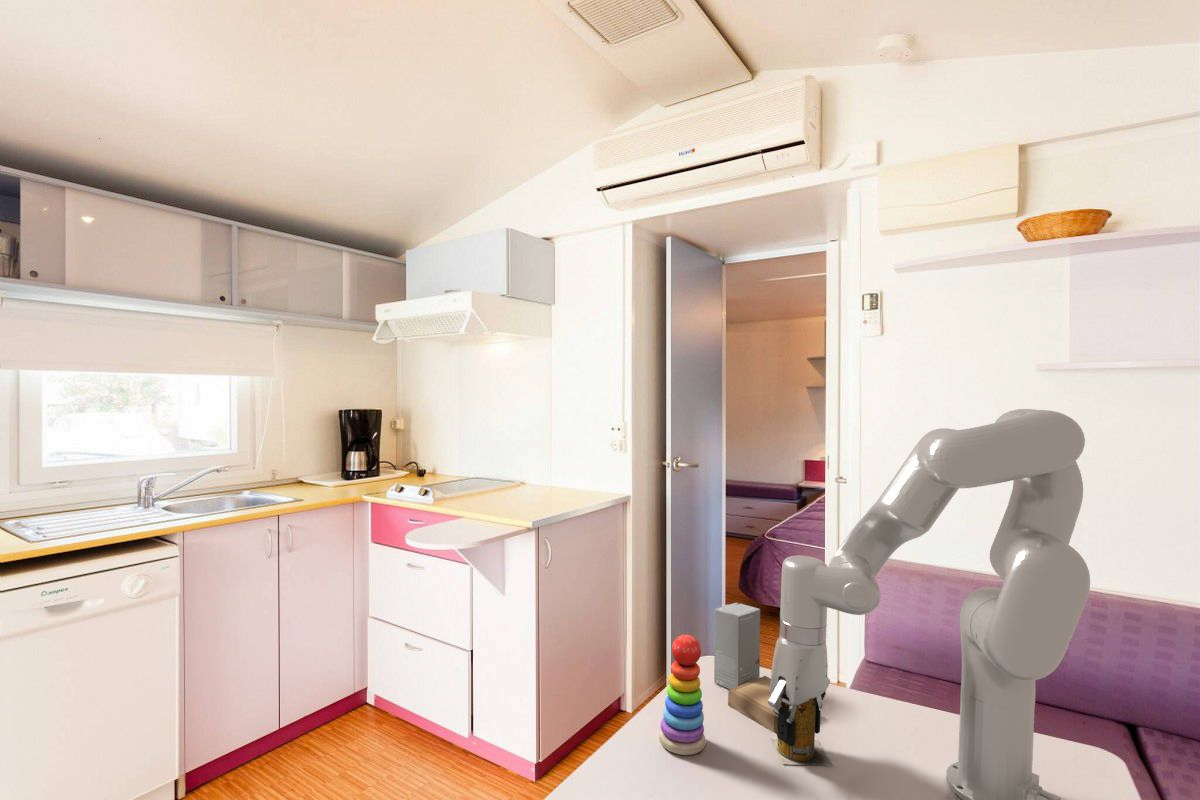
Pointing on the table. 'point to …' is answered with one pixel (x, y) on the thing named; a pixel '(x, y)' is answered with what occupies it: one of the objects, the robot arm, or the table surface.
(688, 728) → the stacking toy
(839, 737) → the table surface
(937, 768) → the table surface
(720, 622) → the skincare box
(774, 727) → the base
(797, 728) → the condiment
